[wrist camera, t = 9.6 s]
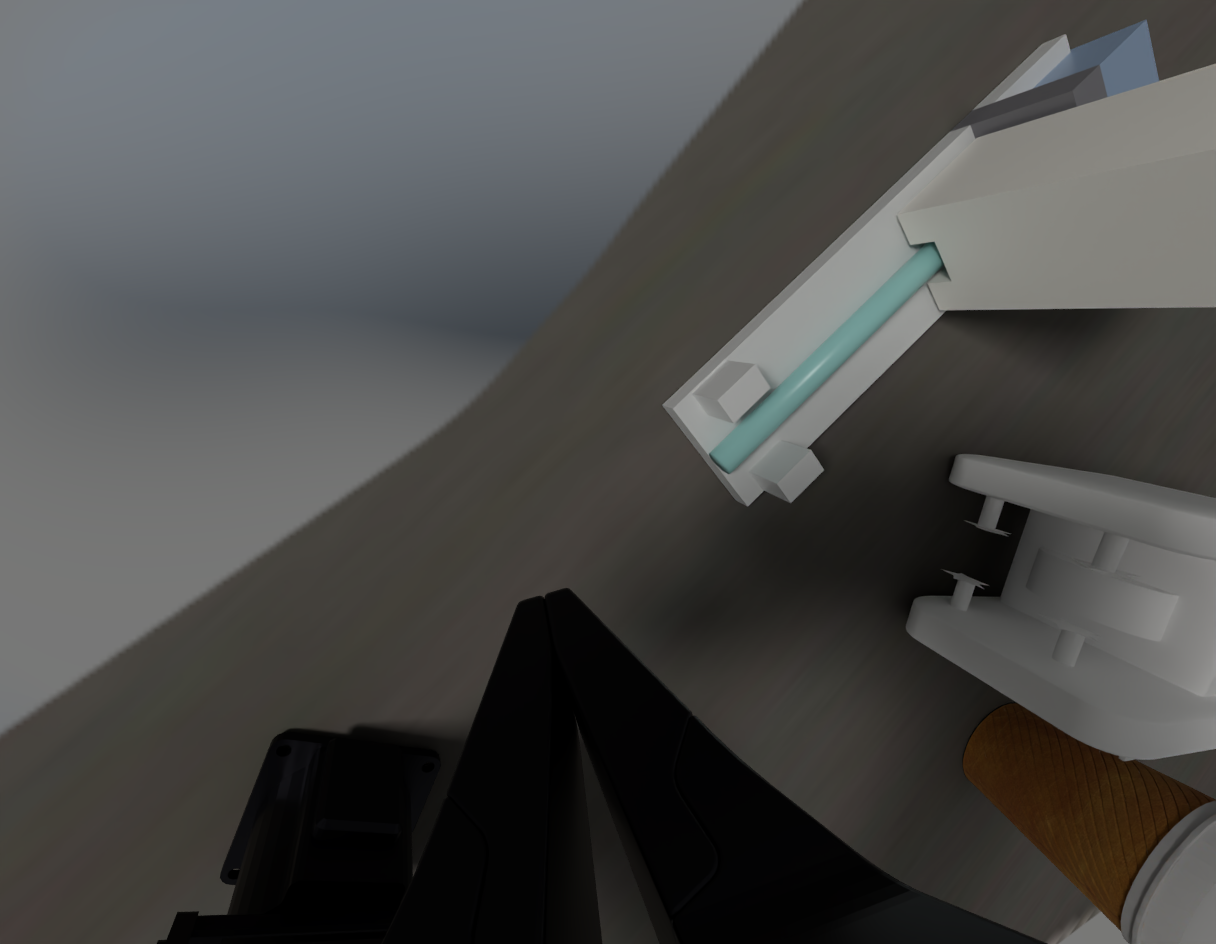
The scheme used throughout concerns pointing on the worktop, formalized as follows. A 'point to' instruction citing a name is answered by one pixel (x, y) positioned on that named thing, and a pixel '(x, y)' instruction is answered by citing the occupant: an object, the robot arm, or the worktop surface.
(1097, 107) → the grey rectangular box
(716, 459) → the cord rail
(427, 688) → the worktop surface
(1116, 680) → the cable organizer
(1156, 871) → the disposable coffee cup
